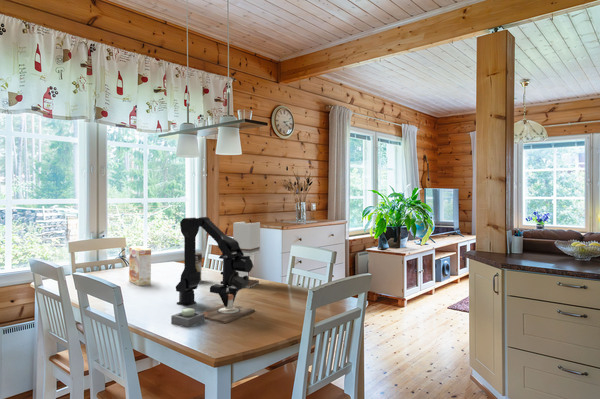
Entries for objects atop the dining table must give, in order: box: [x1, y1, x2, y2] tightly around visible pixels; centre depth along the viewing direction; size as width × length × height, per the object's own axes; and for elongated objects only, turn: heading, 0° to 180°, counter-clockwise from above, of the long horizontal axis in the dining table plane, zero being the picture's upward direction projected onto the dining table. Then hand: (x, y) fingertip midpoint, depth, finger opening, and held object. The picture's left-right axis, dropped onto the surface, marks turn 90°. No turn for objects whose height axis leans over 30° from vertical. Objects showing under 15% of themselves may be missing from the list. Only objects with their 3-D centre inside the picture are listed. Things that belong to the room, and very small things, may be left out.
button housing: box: [170, 311, 206, 328], centre depth 161 cm, size 9×9×3 cm
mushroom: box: [225, 294, 234, 309], centre depth 175 cm, size 4×4×6 cm
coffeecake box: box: [128, 245, 152, 287], centre depth 227 cm, size 15×7×20 cm, turn 42°
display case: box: [232, 221, 261, 289], centre depth 226 cm, size 11×11×35 cm
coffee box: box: [196, 252, 203, 283], centre depth 232 cm, size 9×6×16 cm
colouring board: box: [200, 304, 256, 324], centre depth 173 cm, size 16×20×1 cm
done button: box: [181, 308, 196, 317], centre depth 161 cm, size 5×5×2 cm
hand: (228, 305), depth 175 cm, fingers closed on mushroom, 3 cm apart
